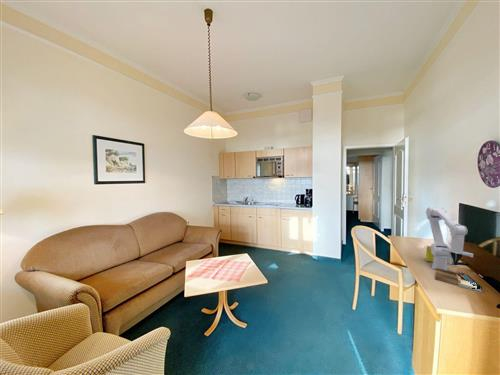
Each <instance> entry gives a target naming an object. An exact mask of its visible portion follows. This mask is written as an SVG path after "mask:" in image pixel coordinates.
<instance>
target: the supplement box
mask: <svg viewBox="0 0 500 375" xmlns="http://www.w3.org/2000/svg"><path fill="white" fill-rule="evenodd" d="M433 259H434V255H433V254H432V253H431V245H430V246H429V245H426V256H425V261H426V262H427V263H432V264H433Z"/></svg>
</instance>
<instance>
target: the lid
mask: <svg viewBox="0 0 500 375" xmlns="http://www.w3.org/2000/svg"><path fill="white" fill-rule="evenodd" d="M457 278H458V282H457V285H458V284H459V285H462V286H466V287H470V288H475V289H477V286H473V285H472V284H470V282H471V281H469V282H468V280H465V279H461V276H460V275H457ZM474 283H475V284H476V282H474Z"/></svg>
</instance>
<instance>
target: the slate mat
mask: <svg viewBox="0 0 500 375" xmlns="http://www.w3.org/2000/svg"><path fill="white" fill-rule="evenodd" d="M457 286H458V287H459V288H464V289H466V290H469V291H470V290H471V291H474V292H478V293H481V294H483V291H482V288H481V287H480V289H472V288H470V287H466V286H462V285H459V284H458V283H457Z"/></svg>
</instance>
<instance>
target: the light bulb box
mask: <svg viewBox="0 0 500 375" xmlns="http://www.w3.org/2000/svg"><path fill="white" fill-rule="evenodd" d="M449 248H450V249H451V246H449ZM455 261H456V260H455ZM447 265H454V261H453V258H452V256H450V257H449V258H447Z"/></svg>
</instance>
